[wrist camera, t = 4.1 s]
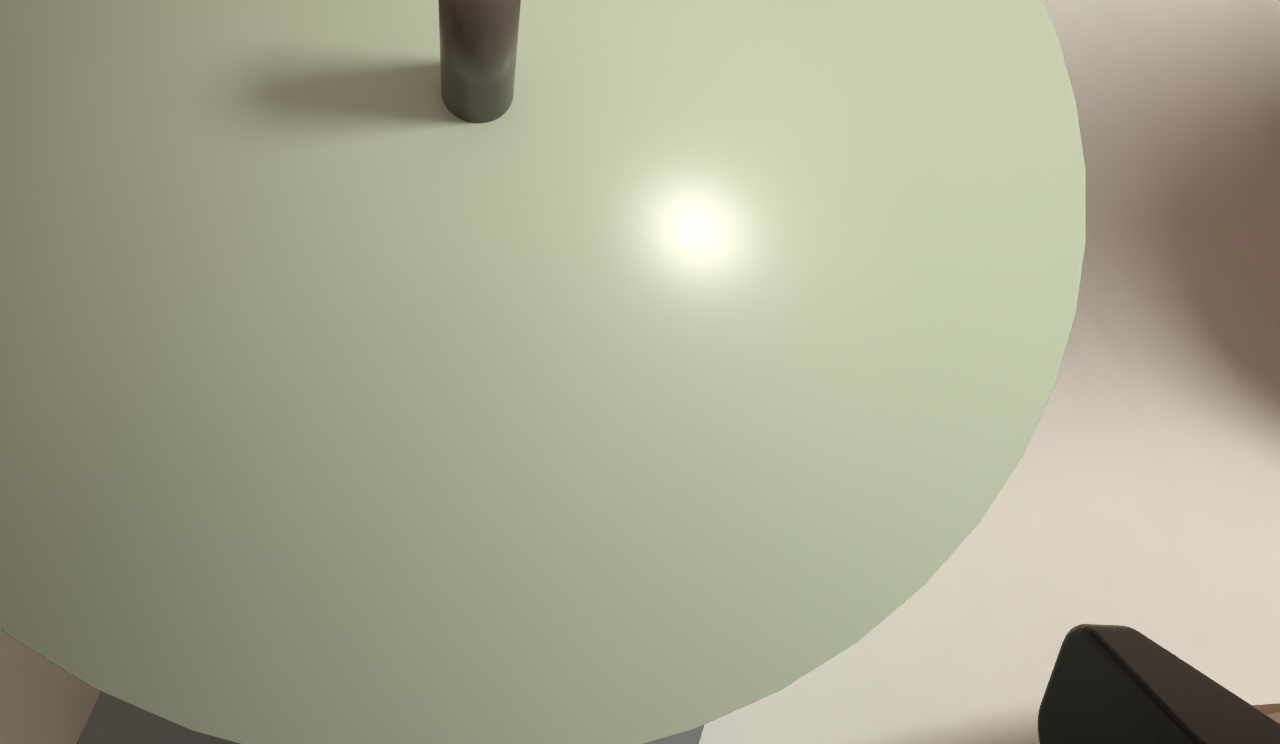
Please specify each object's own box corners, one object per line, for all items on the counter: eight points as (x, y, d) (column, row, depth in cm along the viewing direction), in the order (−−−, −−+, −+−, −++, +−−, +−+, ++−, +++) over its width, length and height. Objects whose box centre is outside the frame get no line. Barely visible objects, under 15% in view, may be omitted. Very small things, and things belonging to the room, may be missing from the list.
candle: (577, 821, 16) (1036, 1040, 3) (208, 690, 16) (-826, 386, 3) (693, 465, 18) (1277, -284, 5) (362, 345, 18) (110, -738, 5)
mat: (631, 944, 16) (637, 950, 16) (85, 753, 16) (72, 753, 16) (785, 428, 19) (795, 418, 19) (321, 259, 19) (316, 243, 18)
